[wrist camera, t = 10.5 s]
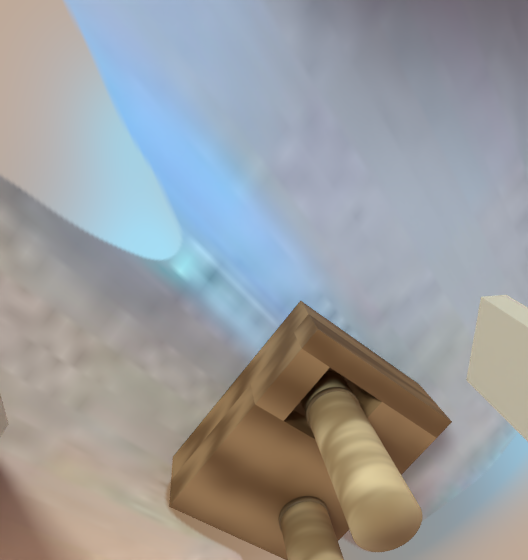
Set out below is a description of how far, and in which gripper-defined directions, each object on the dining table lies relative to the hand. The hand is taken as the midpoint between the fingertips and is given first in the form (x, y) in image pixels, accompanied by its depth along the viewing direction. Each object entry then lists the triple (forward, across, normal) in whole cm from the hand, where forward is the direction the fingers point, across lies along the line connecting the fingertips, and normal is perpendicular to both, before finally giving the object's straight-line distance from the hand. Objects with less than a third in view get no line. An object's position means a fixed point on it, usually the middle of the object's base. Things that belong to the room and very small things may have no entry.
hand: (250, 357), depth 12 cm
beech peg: (+22, +8, -17) cm, 29 cm away
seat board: (+24, +7, -22) cm, 34 cm away
